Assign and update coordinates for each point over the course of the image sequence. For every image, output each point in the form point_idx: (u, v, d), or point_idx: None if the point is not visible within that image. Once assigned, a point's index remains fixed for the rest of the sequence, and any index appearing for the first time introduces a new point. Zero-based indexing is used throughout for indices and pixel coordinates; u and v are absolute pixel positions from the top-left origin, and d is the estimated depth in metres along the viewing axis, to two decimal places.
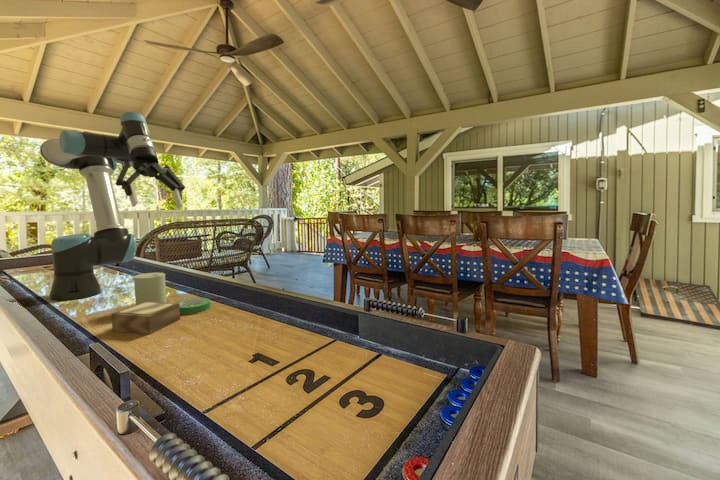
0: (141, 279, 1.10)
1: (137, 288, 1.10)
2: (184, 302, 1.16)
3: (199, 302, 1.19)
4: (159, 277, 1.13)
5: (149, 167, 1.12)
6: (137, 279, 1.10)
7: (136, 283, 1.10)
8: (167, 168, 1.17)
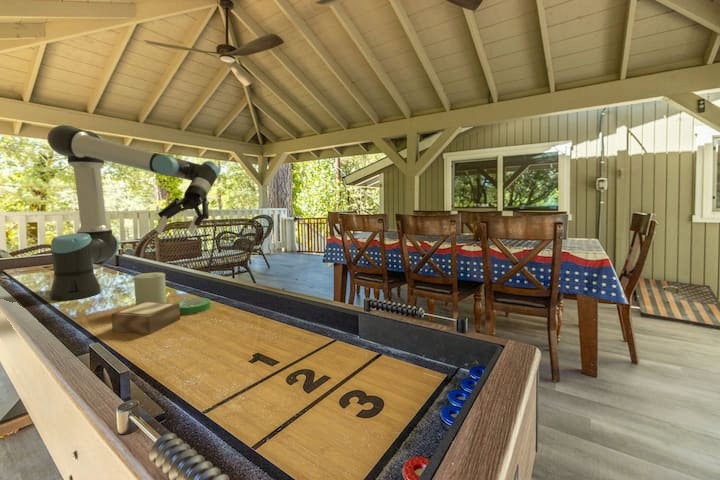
0: (141, 279, 1.10)
1: (137, 288, 1.10)
2: (184, 302, 1.16)
3: (199, 302, 1.19)
4: (159, 277, 1.13)
5: None
6: (137, 279, 1.10)
7: (136, 283, 1.10)
8: None
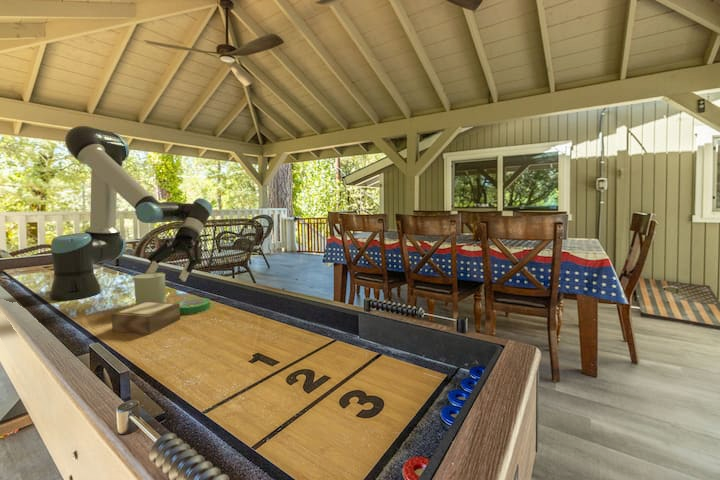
0: (141, 279, 1.10)
1: (137, 288, 1.10)
2: (184, 302, 1.16)
3: (199, 302, 1.19)
4: (159, 277, 1.13)
5: None
6: (137, 279, 1.10)
7: (136, 283, 1.10)
8: None
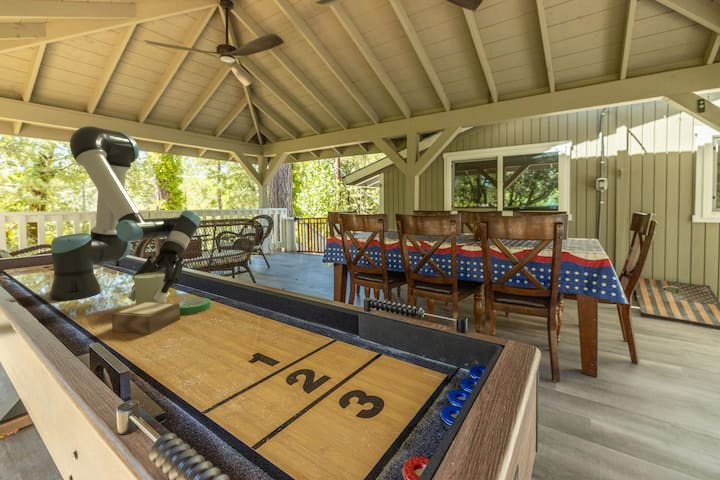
0: (141, 279, 1.10)
1: (137, 288, 1.10)
2: (184, 302, 1.16)
3: (199, 302, 1.19)
4: (159, 277, 1.13)
5: None
6: (137, 279, 1.10)
7: (136, 283, 1.10)
8: None
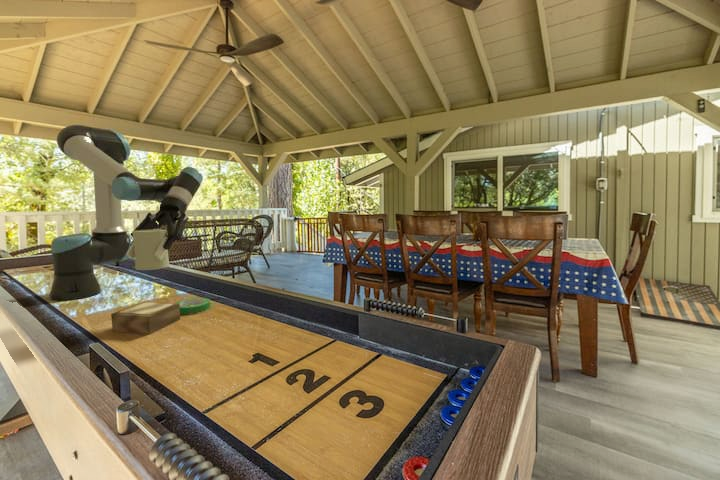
0: (141, 233, 1.00)
1: (137, 243, 1.00)
2: (184, 302, 1.16)
3: (199, 302, 1.19)
4: (160, 232, 1.03)
5: None
6: (136, 233, 1.00)
7: (135, 238, 1.00)
8: None
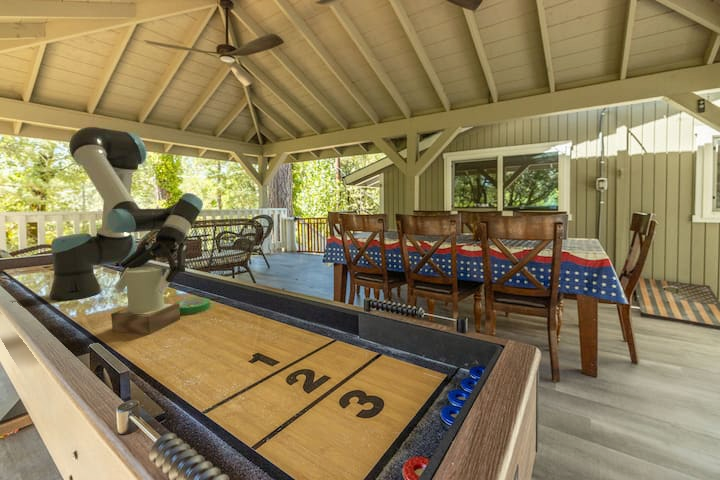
0: (134, 273, 0.94)
1: (129, 284, 0.94)
2: (184, 302, 1.16)
3: (199, 302, 1.19)
4: (155, 271, 0.97)
5: None
6: (129, 273, 0.94)
7: (128, 278, 0.94)
8: None
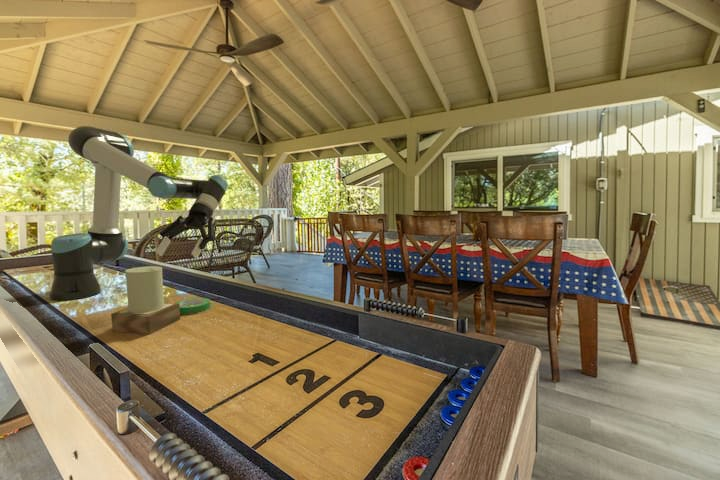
0: (134, 273, 0.94)
1: (129, 284, 0.94)
2: (184, 302, 1.16)
3: (199, 302, 1.19)
4: (155, 271, 0.97)
5: None
6: (129, 273, 0.94)
7: (128, 278, 0.94)
8: None
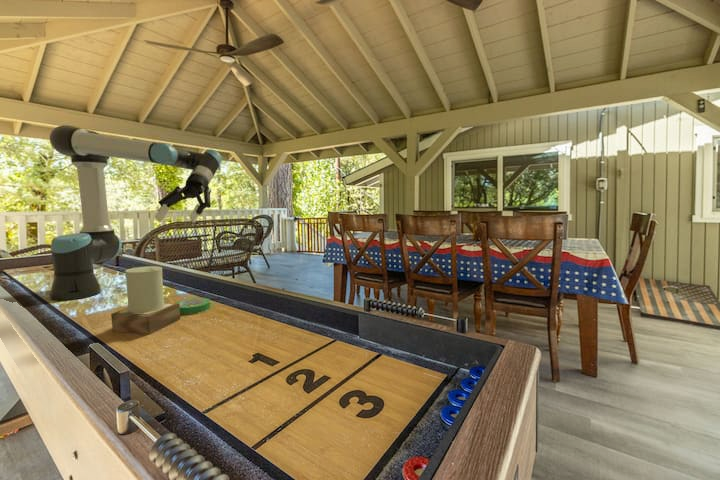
0: (134, 273, 0.94)
1: (129, 284, 0.94)
2: (184, 302, 1.16)
3: (199, 302, 1.19)
4: (155, 271, 0.97)
5: None
6: (129, 273, 0.94)
7: (128, 278, 0.94)
8: None
